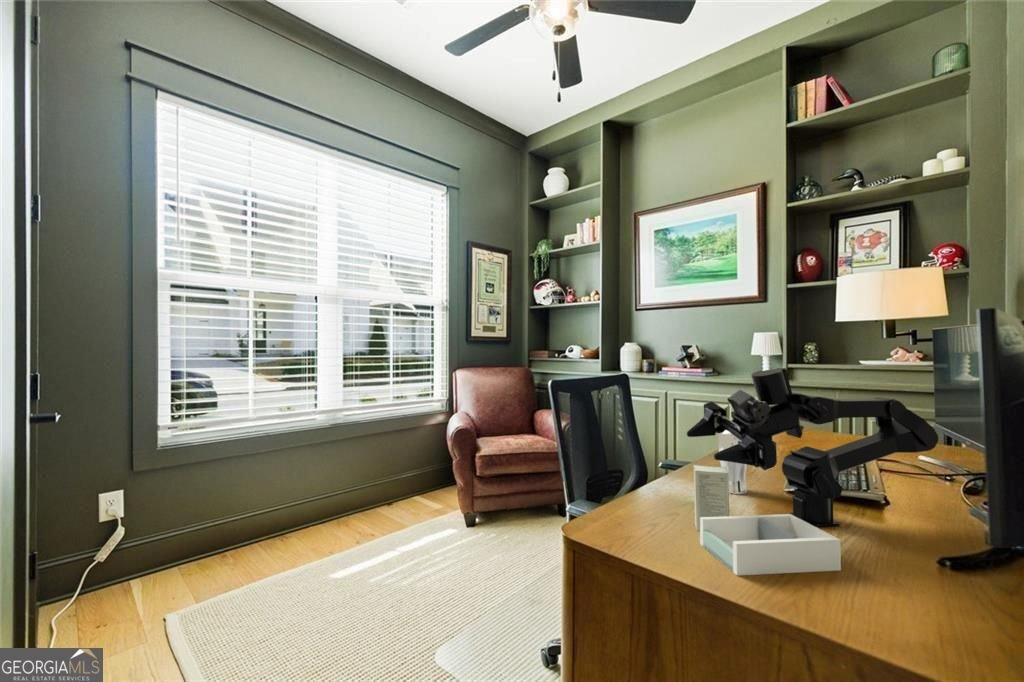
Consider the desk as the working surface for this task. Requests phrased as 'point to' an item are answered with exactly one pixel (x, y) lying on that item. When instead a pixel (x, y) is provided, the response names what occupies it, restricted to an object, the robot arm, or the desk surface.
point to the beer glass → (733, 465)
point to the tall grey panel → (771, 531)
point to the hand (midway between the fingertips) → (700, 445)
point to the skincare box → (710, 492)
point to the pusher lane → (769, 545)
